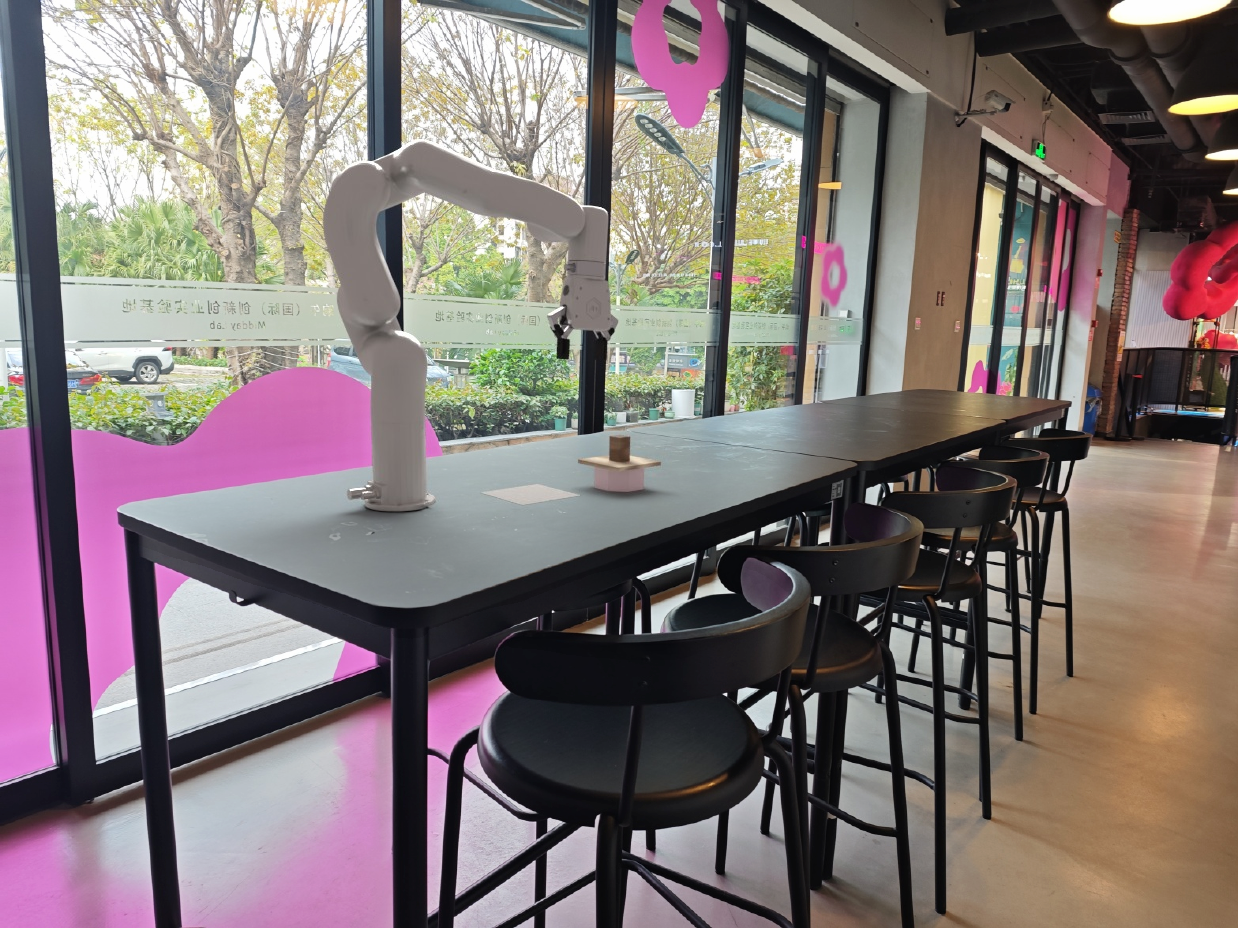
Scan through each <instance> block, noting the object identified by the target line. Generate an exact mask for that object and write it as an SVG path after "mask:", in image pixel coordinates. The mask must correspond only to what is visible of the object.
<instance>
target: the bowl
mask: <svg viewBox="0 0 1238 928" xmlns="http://www.w3.org/2000/svg"><path fill="white" fill-rule="evenodd" d="M593 478H594V481H593V482H594V488H595V489H598V490H601V491H606V492H625V493H627V492H628V493H629V492H634V491H635V492H636V491H640V490H645V489H644V487H645V468H640V469H633V470H626V471H620V472H616V471H611V470H607V469H602V468H598V467H594V477H593Z"/></svg>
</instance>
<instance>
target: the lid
mask: <svg viewBox="0 0 1238 928" xmlns="http://www.w3.org/2000/svg"><path fill="white" fill-rule="evenodd" d="M608 443H609V446H608V447H609V448H608V449H609V451H608V455H601V456H595V457H586V458H578V459H577V462H578V463H577V464H579V465H585V466H590V467H594V468H595V467H598V468H602V469H607V470H611V471H616V472H620V471H626V470H633V469H640V468H644V469H647V468H653V467H659V466H661V465H662V462H661V461H659V460H655V459H649V458H646V457H645V458H644V457H639V456H633V455H631V436H628V435H623V434H616V435H609V442H608Z"/></svg>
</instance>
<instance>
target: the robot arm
mask: <svg viewBox="0 0 1238 928" xmlns="http://www.w3.org/2000/svg"><path fill="white" fill-rule="evenodd" d="M330 186H331V187H330V190H329V192H328V195H327V198H326V200H325V201H326V202H325V205H324V208H323V217H322V227H323V235H324V240H325V245H326V248H327V250H328V254H329V256H330V259H331V262H332V264H333V268H334V270H335V273H336V276H337V278H338V281H339V284H340V285H339V287H338V289H337V292H336V293H337V294H336V304H337V310H338V312H339V315H340V318H341V321H342V323H343V325H344V326H343V327H344V328H345V330H346V333H347V335H348V337H349V340H350V342H351V345H352V347H353V350H354V352H355V354H356V357H357V359H358V361H359V363H360V365H361V367H362V368H363V370H364V371H365V372H366V373H367V374H368V375H369V376H371V386H370V424H371V425H370V429H371V430H370V431H371V433H370V434H371V459H372V460H371V461H372V463H371V464H372V480H368V481H366V482H367V484H366V485H364V486H363V487H356V488H355V487H354V488H348V489H347V490H346V495H347V496H346V497H347V499H348V500H349V501H350V500H351V501H352V500H359V499H361V500H362V501H364V506H365V507H366V508H368V509H370V510H374V511H380V512H408V511H417V510H418V511H419V510H424V509H428V508H429V507H430V506H431V505H433V504H435V503H436V496H435V495H433V494H431V493H429V492H428V489H427V488H428V487H427V485H428V484H427V450H426V448H427V443H426V438H427V437H426V387H427V375H428V357H427V353H426V351H425V348H424V346H423V345H422V343H421V342H420V341H419V339H418V338H416V337H415V336H414V335H412V334H411V333H408V332H406V331H402V329H401V326H400V323H399V321H398V319H397V316H398V314H399V312H400V309H401V297H400V294H399V290H398V288H397V286H396V284H395V282H394V279H393V277H392V275H391V274H392V273H391V272H390V269H389V266H388V264H387V261H386V259H385V257H384V253H383V251H382V247H381V245H380V241H379V238H378V233H377V220H378V216H379V214H380V212H382V211H384V210H388V209H390V208H393V207H395V206H398V205H400V204H402V203H404V202H406V201H409V200H411V199H414V198H415V197H417V196H420V195H422V194H424V193H425V194H427V195H429V196H431V197H435V198H436V199H438V200H441V201H444V202H446V203H450V204H452V205H454V206H456V207H459V208H461V209H464V210H466V211H467V212H470V213H473V214H475V215H478V216H479V215H480V216H483V217H489V218H503V219H504V218H505V219H511V220H516V221H520V222H524V223H526V227H527V230H528V232H529V234H530V235H531V236H532V237H533V238H534V239H536V240H537V241H538V242H542V243H548V244H549V243H550V244H552V243H553V244H555V243H567V244H568V246H567V263H565V264H563V270H564V271H566V277H564V279H563V283H562V289H561V294H560V300H559V308H557V309H555V310H553V311H552V312H550V313H548V314H547V316H546V317H547V321H548V323H549V326H550V327H549V328H550V330H551V332H552V333H553V334H554V337H555V339H556V359H557V360H567V361H568V360H570V352H571V351H570V347H571V339H570V338H568V337H569V336H570V335H571V333H572V332H573V330H579V331H593V333H594V335H595V337H596V338H597V339H596V340H595V341H594V356H593V358H594V360H595V361H602V362H603V361H604V362H605V361H607V359H608V342H610V340H611V339H612V338H611V337H612V336H613V335H614V333H615V332H616V327H617V326H618V324H619V319H618V318H617V317H616V316H614V315H613V314H612V313H611V309H612V308H611V307H612V306H611V292H610V291H611V290H610V286H609V281H608V280H606V267H607V251H608V250H607V249H608V232H609V230H608V229H609V214H608V213H609V212H608V211H607V210H606V209H605V208H602V207H599V206H594V205H581V204H580V203H579V202H578V201H577V200H576V199H574V198H573V197H572V196H569V195H567V194H565V193H563V192H561V191H559V190H557V189H555V188H552V187H550V186H548V185H545V184H543V183H540V182H538V181H536V180H531V179H528V178H525V177H520V176H517V175H513V174H511V173H508V172H505V171H501V170H497V169H494V168H492V167H489V166H486V165H484V164H483V163H480V162H478V161H476V160H474V159H471V158H469V157H467V156H464V155H463V154H460V153H457V152H455V151H454V150H452V149H449V148H446V147H445V146H442V145H440V144H438V143H435V142H433V141H430V140H426V139H416V140H412V141H410V142H408V143H406V144H405V145H403V146H402V147H400V148H399V149H397V150H395V151H393V152H391V153H389V154H387V155H384V156H382V157H379V158H377V159H375V160H372V161H370V160H358V161H356V162H353V163H351V164H349V165H348V166H346V167H345V168H344V169H343V170H342V171H341V172H339V173H338V174H337V175H336V176H335V177H334V179H333V181H332V183H331V185H330Z"/></svg>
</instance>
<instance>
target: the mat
mask: <svg viewBox="0 0 1238 928" xmlns="http://www.w3.org/2000/svg"><path fill="white" fill-rule="evenodd" d="M480 494H483V495H486V496H489V497H494V498H496V499H499V500H503V501H506V502H511V503H513V504H517V505H521V506H526V505H531V504H532V505H533V504H539V503H545V502H551V501H556V500H557V501H558V500H562V499H563V500H564V499H568V498H569V499H570V498H575V497H580V496H581V494H577V493H573V492H570V491H565V490H562V489H558V488H553V487H550V486H546V485H543V484H539V483H536V484H535V483H534V484H529V485H522V486H521V485H520V486H515V487H509V488H508V487H507V488H500V489H494V490H488V491H481V492H480Z"/></svg>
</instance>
